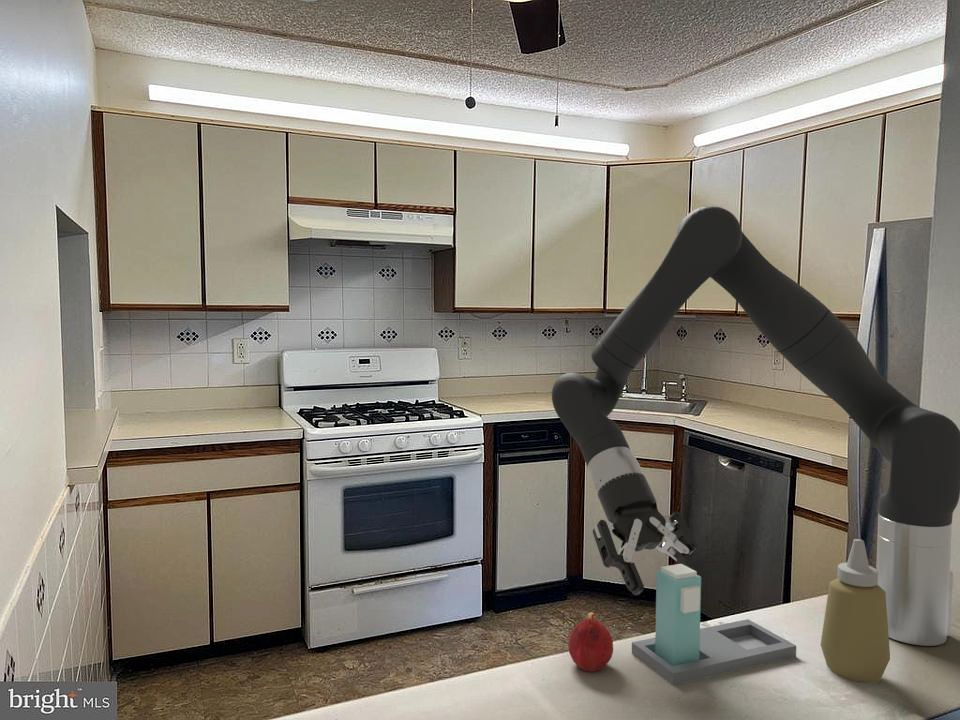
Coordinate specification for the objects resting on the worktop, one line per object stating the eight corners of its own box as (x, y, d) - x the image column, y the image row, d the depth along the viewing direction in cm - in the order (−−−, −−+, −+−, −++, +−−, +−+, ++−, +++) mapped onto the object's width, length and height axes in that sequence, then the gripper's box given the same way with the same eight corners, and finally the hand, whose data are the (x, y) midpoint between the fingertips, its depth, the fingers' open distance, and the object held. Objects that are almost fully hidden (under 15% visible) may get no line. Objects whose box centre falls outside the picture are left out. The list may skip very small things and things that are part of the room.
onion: (612, 686, 90) (613, 625, 90) (566, 682, 91) (567, 621, 91) (613, 664, 96) (614, 606, 95) (569, 660, 97) (570, 602, 97)
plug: (679, 653, 97) (681, 562, 96) (703, 669, 93) (705, 574, 92) (655, 658, 96) (656, 566, 95) (677, 675, 91) (679, 578, 90)
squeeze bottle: (904, 691, 89) (909, 550, 88) (841, 694, 89) (846, 551, 88) (864, 660, 97) (869, 530, 96) (807, 662, 97) (811, 531, 96)
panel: (747, 635, 105) (748, 619, 105) (795, 663, 96) (796, 645, 96) (631, 660, 97) (631, 642, 97) (672, 692, 89) (673, 673, 89)
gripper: (588, 474, 101) (632, 583, 91) (672, 467, 106) (723, 568, 96) (569, 502, 106) (609, 607, 96) (650, 494, 111) (696, 593, 102)
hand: (666, 588), depth 96 cm, fingers open, 8 cm apart
